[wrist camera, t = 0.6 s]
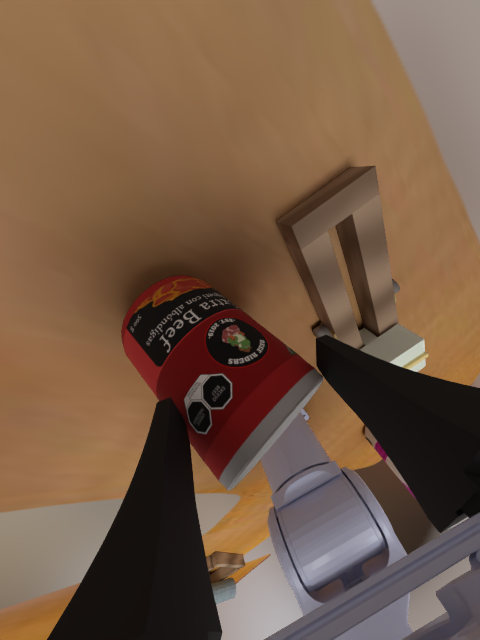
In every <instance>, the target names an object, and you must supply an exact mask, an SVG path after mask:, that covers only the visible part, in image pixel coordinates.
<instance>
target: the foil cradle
mask: <svg viewBox="0 0 480 640" xmlns="http://www.w3.org/2000/svg"><path fill="white" fill-rule="evenodd" d="M211 555H212V556H208V557H207V558H206V561H207V565H208V570H209V571H211V570H212V569H214V567H220V568H219V569H217V570H216V571H214V572H213V573H211V574H210V580H211V583H215V582H218V581H221V580H224V579H225V578H227V577H228V576H230V575H231V574H233V573H234V572H236V571H237V570H239V568H242V567H244V566H245V562H244V558H243V555H241V554H232V553H224V552H214V553H213V554H211Z"/></svg>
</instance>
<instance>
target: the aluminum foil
mask: <svg viewBox="0 0 480 640" xmlns="http://www.w3.org/2000/svg"><path fill="white" fill-rule="evenodd" d="M211 585H212V589H213V594H214V598H215V603H216V604H217V603H220V602H223V601H226V600H229V599H232V598H234V597H235V595H236V584H235V581H234V579H233V578H228V579H225V580H221V581H218V582H215V583H211Z"/></svg>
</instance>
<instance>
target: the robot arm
mask: <svg viewBox="0 0 480 640" xmlns="http://www.w3.org/2000/svg"><path fill="white" fill-rule="evenodd" d="M316 362H317V367H318V369H319V370H320V372H321V373H322V375H323V376H324V377H325V379H326V380H327V382H328V383H329V384H330V385H331V386H332V388H333V389H334V390H335V391H336V392H337V393H338V394H339V395H340V397H341V398H342V399H343V400H344V401H345V402H346V403H347V404H348V406H349V407H350V408H351V409H352V410H353V411H354V412H355V413H356V414H357V416H358V417H359V418H360V419H361V420H362V422H363V423H364V424H365V425H366V427H367V428H368V429H369V431H370V432H371V433H372V435H373V436H374V437H375V439H376V440H377V441H378V443H379V444H380V446H381V447H382V449H383V450H384V451H385V453H386V454H387V456H388V457H389V458H390V460H391V461H392V463H393V464H394V466H395V467H396V469H397V470H398V472H399V473H400V475H401V476H402V478H403V479H404V481H405V482H406V484H407V485H408V487H409V488H410V490H411V491H412V493H413V495H414V496H415V498H416V499H417V501H418V502H419V504H420V506H421V507H422V509H423V510H424V512H425V514H426V515H427V517H428V519H429V520H430V521H431V523H432V524H433V525H434V526H435V528H436V529H437V530H438V531H439V532H440V533H441V532H443V531H445V530H447V529H448V528H450V527H452V526H453V525H455V524H457V523H459V522H460V521H462V520H464V519H465V518H467V517H469V519H467V520H466V521H464V522H462V523H461V524H459V525H457V526H456V527H454V528H452V529H450V530H449V531H447V532H445V533H444V534H442V535H440V536H439V537H437V538H435V539H434V540H432V541H430V542H428V543H427V544H425V545H424V546H422V547H420V548H418V549H417V550H415V551H413V552H412V553H410V554H408V555H407V553H406V552H405V550H404V548H403V547H402V545H401V543H400V542H399V540H398V538H397V537H396V535H395V533H394V531H393V528H392V526H391V524H390V522H389V520H388V518H387V516H386V514H385V513H384V511H383V509H382V508H381V506H380V504H379V503H378V501H377V500H376V498H375V497H374V495H373V494H372V492H371V491H370V489H369V488H368V487H367V485H366V484H365V483H364V481H363V480H362V479H361V478H360V476H359V475H358V474H357V473H356V472H355V471H353V470H351V469H348V468H347V467H343V468H341V469H340V468H339V467H338V465H337V463H336V462H335V461H331V460H330V458H329V457H328V455H327V453H326V452H325V450H324V449H323V447H322V445H321V444H320V442H319V441H318V439H317V438H316V436H315V434H314V433H313V431H312V430H311V428H310V426H309V425H308V423H307V422H306V420H308V419H309V416H308V414H307V413H306V412H305V410H304V409H302V410H301V411H300V413H299V414H298V415H297V416H296V418H295V419H294V420H293V421H292V422H291V424H290V425H289V426H288V427H287V429H286V430H285V431H284V432H283V433H282V435H281V436H280V437H279V438H278V439H277V440H276V442H275V443H274V444H273V445H272V446H271V448H270V449H269V450H268V451H267V452H266V453H265V454H264V456H263V457H262V458H261V459H260V460H261V463H262V466H263V468H264V471H265V474H266V476H267V479H268V481H269V484H270V487H271V489H272V492H273V495H272V496H271V499H272V501H273V504H274V507H272V508H270V510H269V516H268V527H269V532H270V535H271V539H272V542H273V545H274V548H275V551H276V554H277V557H278V560H279V562H280V565H281V568H282V569H283V572H284V574H285V577H286V579H287V581H288V583H289V585H290V587H291V588H292V590H293V591H294V594H295V596H296V598H297V601H298V603H299V605H300V608H301V610H302V613H303V615H304V616H303V617H302V618H300V619H298V620H297V621H295V622H293V623H291V624H290V625H288V626H287V627H285V628H283V629H281V630H280V631H278V632H276V633H275V634H273V635H271V636H269V637H268V638H266V639H264V640H480V388H476V387H472V386H467V385H463V384H458V383H454V382H450V381H446V380H443V379H439V378H435V377H431V376H428V375H425V374H421V373H418V372H415V371H412V370H409V369H406V368H403V367H400V366H397V365H394V364H392V363H389V362H387V361H384V360H382V359H379V358H377V357H374V356H372V355H370V354H367V353H365V352H363V351H361V350H358V349H356V348H354V347H352V346H350V345H348V344H345V343H343V342H341V341H339V340H337V339H335V338H333V337H331V336H328V335H324V336H321V337H319V338H316ZM469 555H470V556H469ZM467 556H469V561H470V564H471V570H470V571H468V572H466V573H464V574H463V575H461V576H459V577H457V578H456V579H454V580H452V581H451V582H449V583H448V584H447V585H445V586H444V587H442V588H441V589H439V590H438V591H436V596H437V597H438V599H439V600H440V601H441V603H442V605H443V606H444V608H445V609H446V611H447V612H446V613H445V614H443V615H441V616H439V617H438V618H436V619H435V620H433V621H431V622H430V623H428V624H426V625H425V626H423V627H421V628H420V629H418V630H416V631H415V632H412V630H411V628H410V626H409V624H408V609H409V600H410V592H411V591H412V590H414V589H416V588H418V587H419V586H421V585H422V584H424V583H425V582H427V581H429V580H430V579H432V578H434V577H435V576H437V575H439V574H440V573H442V572H443V571H445V570H447V569H448V568H450V567H451V566H453V565H454V564H456V563H458V562H459V561H461V560H463V559H464V558H466V557H467ZM221 636H222V629H221V625H220V620H219V616H218V612H217V607H216V603H215V598H214V594H213V589H212V585H211V580H210V575H209V570H208V565H207V561H206V556H205V551H204V546H203V540H202V535H201V530H200V525H199V519H198V513H197V509H196V502H195V493H194V482H193V471H192V460H191V450H190V441H189V436H188V431H187V427H186V424H185V421H184V419H183V416H182V415H181V413H180V412H179V410H178V408H177V407H176V405H175V403H174V402H173V400H172V399H171V397H169V398H167V399H164V400H162V401H159V402H158V403H157V404H156V408H155V412H154V416H153V420H152V423H151V427H150V430H149V433H148V436H147V440H146V443H145V446H144V449H143V452H142V455H141V458H140V460H139V463H138V466H137V468H136V471H135V474H134V476H133V479H132V481H131V484H130V486H129V489H128V491H127V493H126V496H125V498H124V500H123V503H122V505H121V507H120V509H119V511H118V513H117V515H116V517H115V519H114V521H113V524H112V526H111V528H110V530H109V532H108V534H107V536H106V538H105V540H104V542H103V544H102V545H101V547H100V549H99V551H98V553H97V555H96V557H95V558H94V560H93V562H92V564H91V566H90V567H89V569H88V571H87V573H86V575H85V577H84V578H83V580H82V582H81V584H80V585H79V587H78V589H77V591H76V592H75V594H74V596H73V597H72V599H71V601H70V602H69V604H68V606H67V607H66V609H65V611H64V612H63V614H62V616H61V617H60V619H59V621H58V622H57V624H56V625H55V627H54V629H53V630H52V632H51V634H50V635H49V637H48V639H47V640H221Z"/></svg>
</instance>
